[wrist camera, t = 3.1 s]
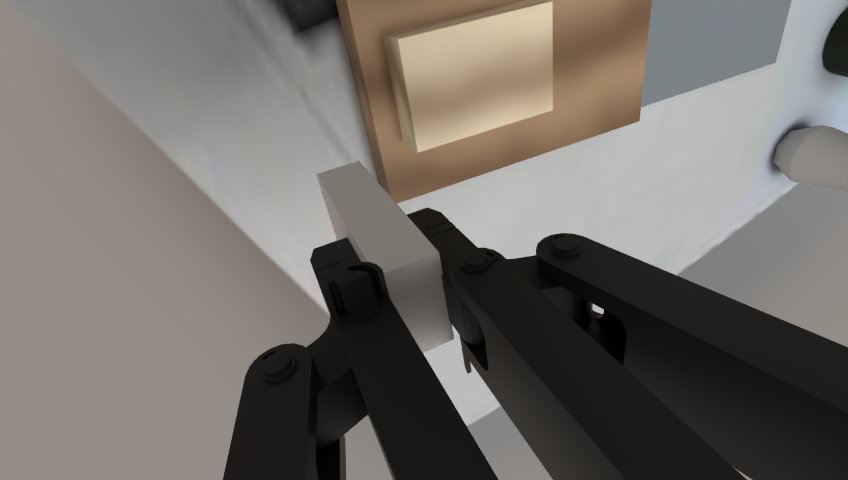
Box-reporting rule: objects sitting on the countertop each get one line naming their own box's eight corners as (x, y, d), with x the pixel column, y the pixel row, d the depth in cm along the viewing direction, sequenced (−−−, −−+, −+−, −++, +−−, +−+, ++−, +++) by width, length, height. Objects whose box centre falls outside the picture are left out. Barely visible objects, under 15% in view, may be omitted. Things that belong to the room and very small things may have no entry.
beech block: (382, 34, 24) (397, 39, 22) (526, -1, 27) (552, 1, 25) (402, 139, 28) (417, 152, 26) (529, 101, 30) (552, 110, 28)
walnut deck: (324, -47, 24) (335, -48, 22) (631, -105, 29) (663, -111, 27) (380, 190, 32) (392, 204, 30) (615, 113, 36) (639, 121, 34)
